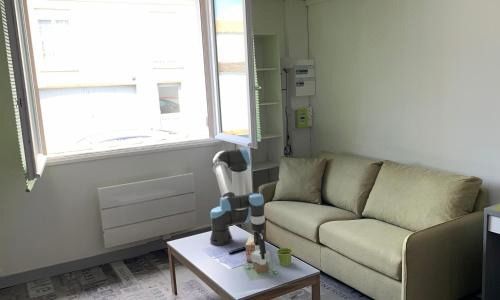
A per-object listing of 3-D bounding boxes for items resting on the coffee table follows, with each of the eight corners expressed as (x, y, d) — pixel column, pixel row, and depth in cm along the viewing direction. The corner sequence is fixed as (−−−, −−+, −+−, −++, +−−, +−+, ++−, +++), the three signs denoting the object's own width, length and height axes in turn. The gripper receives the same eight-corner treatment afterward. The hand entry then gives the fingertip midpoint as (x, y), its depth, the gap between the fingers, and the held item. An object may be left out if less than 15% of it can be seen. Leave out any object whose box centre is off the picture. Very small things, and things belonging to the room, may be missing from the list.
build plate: (242, 267, 243) (241, 263, 242) (271, 262, 246) (271, 258, 246) (249, 282, 223) (249, 279, 223) (282, 277, 227) (281, 273, 227)
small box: (270, 260, 234) (270, 251, 233) (261, 265, 228) (260, 256, 228) (260, 256, 239) (260, 248, 238) (251, 261, 234) (250, 252, 233)
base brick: (253, 268, 237) (253, 259, 236) (265, 266, 239) (265, 257, 238) (256, 273, 231) (256, 265, 230) (269, 271, 232) (268, 263, 231)
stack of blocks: (252, 249, 267) (251, 231, 265) (262, 249, 266) (260, 231, 264) (246, 264, 246) (245, 244, 244) (257, 264, 245) (255, 244, 243)
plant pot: (283, 270, 235) (282, 256, 233) (273, 264, 242) (273, 250, 241) (296, 265, 239) (296, 251, 238) (286, 260, 247) (286, 246, 246)
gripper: (246, 216, 240) (249, 253, 244) (256, 230, 218) (259, 269, 222) (259, 215, 242) (261, 251, 246) (270, 228, 220) (272, 267, 224)
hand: (260, 260), depth 234 cm, fingers closed on small box, 10 cm apart
